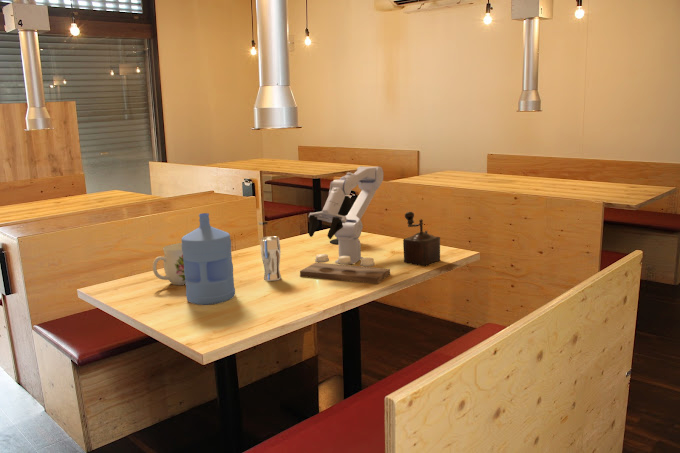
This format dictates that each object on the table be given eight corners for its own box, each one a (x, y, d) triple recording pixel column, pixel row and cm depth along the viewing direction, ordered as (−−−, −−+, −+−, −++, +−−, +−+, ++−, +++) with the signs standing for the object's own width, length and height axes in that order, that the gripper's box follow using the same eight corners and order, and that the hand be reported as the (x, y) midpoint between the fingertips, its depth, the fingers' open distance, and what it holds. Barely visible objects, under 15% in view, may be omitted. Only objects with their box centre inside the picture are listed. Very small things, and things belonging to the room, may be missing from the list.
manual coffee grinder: (442, 260, 236) (441, 214, 232) (425, 266, 228) (425, 219, 224) (409, 254, 246) (408, 210, 242) (392, 260, 238) (391, 215, 234)
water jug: (193, 291, 210) (186, 210, 204) (239, 289, 209) (233, 208, 204) (180, 306, 195) (172, 219, 189) (230, 305, 194) (222, 217, 188)
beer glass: (279, 282, 216) (276, 240, 213) (260, 281, 218) (257, 240, 215) (284, 276, 223) (282, 235, 220) (266, 276, 225) (263, 235, 221)
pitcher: (148, 285, 219) (144, 248, 216) (193, 274, 230) (190, 239, 227) (162, 292, 211) (158, 253, 208) (208, 280, 222) (205, 243, 219)
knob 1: (319, 258, 227) (318, 253, 227) (331, 259, 225) (331, 254, 225) (312, 262, 223) (312, 256, 222) (325, 263, 221) (324, 257, 220)
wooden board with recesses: (315, 267, 233) (315, 262, 232) (390, 274, 220) (389, 269, 219) (300, 276, 222) (299, 270, 222) (377, 284, 209) (377, 278, 209)
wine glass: (327, 244, 269) (325, 199, 264) (331, 239, 279) (329, 195, 274) (351, 244, 267) (349, 199, 263) (354, 239, 277) (353, 195, 273)
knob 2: (341, 260, 223) (340, 255, 223) (353, 261, 221) (353, 256, 221) (335, 263, 219) (334, 258, 219) (347, 265, 217) (347, 259, 216)
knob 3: (363, 262, 219) (363, 256, 219) (376, 263, 217) (376, 258, 217) (358, 266, 215) (357, 260, 215) (371, 267, 213) (371, 261, 212)
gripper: (311, 198, 226) (298, 227, 220) (347, 201, 220) (334, 231, 213) (317, 209, 232) (304, 239, 225) (352, 213, 225) (340, 243, 218)
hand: (319, 236), depth 219 cm, fingers open, 7 cm apart
